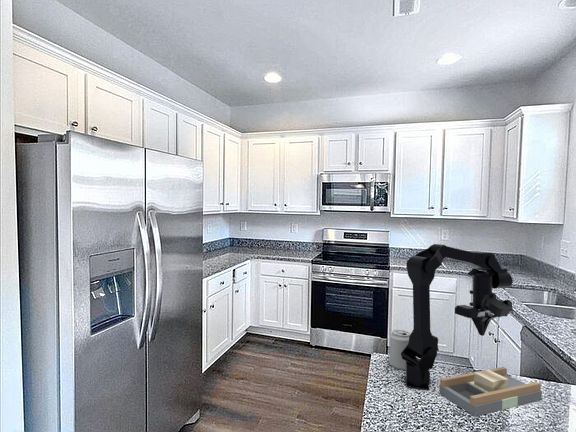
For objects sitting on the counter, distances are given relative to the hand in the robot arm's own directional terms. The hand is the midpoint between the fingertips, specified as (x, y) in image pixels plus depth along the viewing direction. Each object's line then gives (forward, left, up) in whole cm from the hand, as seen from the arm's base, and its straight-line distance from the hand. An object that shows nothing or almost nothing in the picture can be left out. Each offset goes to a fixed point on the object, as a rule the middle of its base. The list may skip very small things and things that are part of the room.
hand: (481, 335), depth 111 cm
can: (-26, -2, -13) cm, 29 cm away
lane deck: (-2, -16, -13) cm, 20 cm away
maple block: (-2, -15, -10) cm, 19 cm away
